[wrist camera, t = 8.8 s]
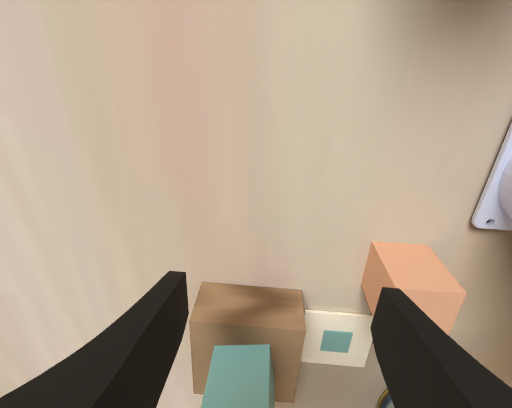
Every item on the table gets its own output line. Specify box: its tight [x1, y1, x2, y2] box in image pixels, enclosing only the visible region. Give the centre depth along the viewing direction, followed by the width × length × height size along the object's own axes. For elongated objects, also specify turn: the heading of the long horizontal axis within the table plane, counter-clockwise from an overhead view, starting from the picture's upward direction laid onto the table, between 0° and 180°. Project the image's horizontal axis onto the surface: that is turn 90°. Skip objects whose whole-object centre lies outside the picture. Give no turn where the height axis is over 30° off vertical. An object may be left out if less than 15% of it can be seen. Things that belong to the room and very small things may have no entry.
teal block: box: [201, 344, 274, 408], centre depth 20 cm, size 4×4×5 cm
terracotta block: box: [361, 241, 467, 335], centre depth 21 cm, size 4×4×5 cm
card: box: [301, 310, 373, 367], centre depth 26 cm, size 6×6×1 cm
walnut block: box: [189, 282, 306, 403], centre depth 24 cm, size 8×8×4 cm
